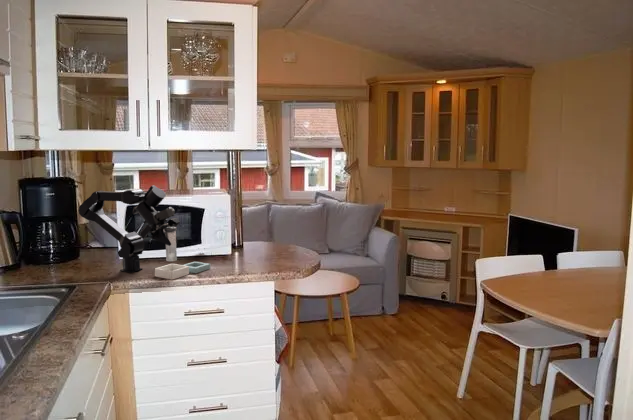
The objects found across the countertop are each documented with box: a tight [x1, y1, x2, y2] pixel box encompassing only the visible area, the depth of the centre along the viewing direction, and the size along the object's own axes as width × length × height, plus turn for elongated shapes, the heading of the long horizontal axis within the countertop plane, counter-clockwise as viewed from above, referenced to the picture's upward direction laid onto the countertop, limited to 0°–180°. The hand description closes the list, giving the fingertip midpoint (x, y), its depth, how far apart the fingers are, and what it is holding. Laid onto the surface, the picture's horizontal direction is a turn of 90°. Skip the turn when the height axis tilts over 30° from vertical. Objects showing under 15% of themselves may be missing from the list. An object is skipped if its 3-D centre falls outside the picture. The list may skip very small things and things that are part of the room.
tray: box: [154, 263, 190, 280], centre depth 205 cm, size 10×10×3 cm
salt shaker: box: [164, 226, 178, 262], centre depth 203 cm, size 5×5×13 cm
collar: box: [183, 261, 211, 274], centre depth 213 cm, size 9×9×2 cm
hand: (173, 244), depth 203 cm, fingers closed on salt shaker, 4 cm apart
